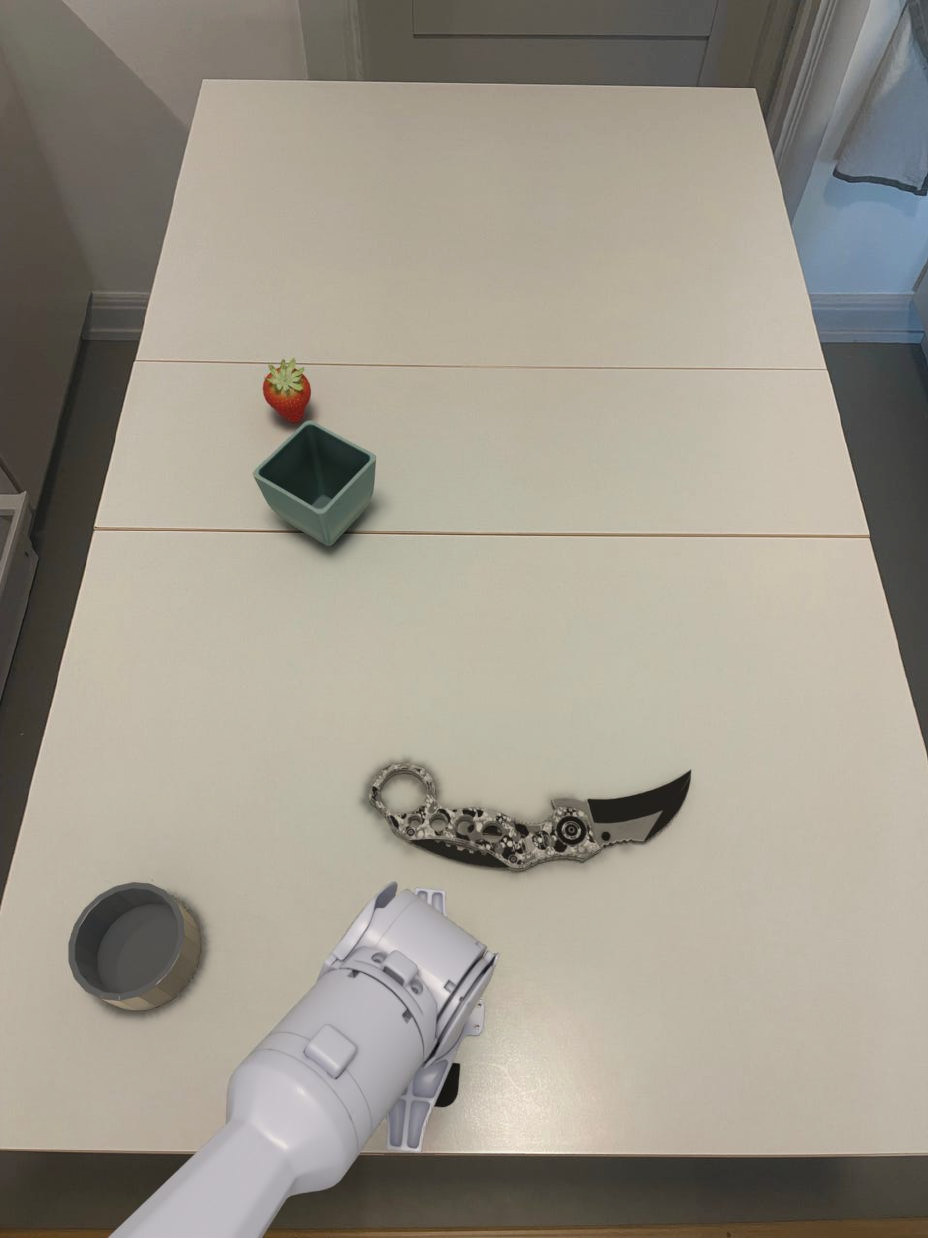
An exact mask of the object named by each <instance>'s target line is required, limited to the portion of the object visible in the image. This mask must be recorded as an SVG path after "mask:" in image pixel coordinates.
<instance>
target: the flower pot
mask: <svg viewBox="0 0 928 1238" xmlns="http://www.w3.org/2000/svg"><path fill="white" fill-rule="evenodd" d="M376 465H377V455H375V454H374V453H373V452H371V451H369V450H367V449H366V448H363V447H362V446H360V445H359V444H356V443H354V442H352V441H350V440H348V439H346V438H345V437H343V436H341V435H339V434H337V433H335V432H334V431H331V430H329V429H328V428H326V427H325V426H323V425H321V424H319V423H318V422H315V421H313V420H306V421H304V422H303V423H302V424H301V425H300V426H298V428H297V429H296V430H295V431H294V432H293V433H291V435H290V436H289V437H288V438H287V439H286V440H285V441H284V442H282V444H280V446H278V447H277V448H276V449H275V450H274V451H273V452H272V453H271V454H270V455H268V457H267V458H266V459H265V460H263V461H262V462H261V463H260V464H259V465H258V466H257V467H256V468H255V469H254V470H253V472H252V476H253V478H254V480H255V482H256V484H257V486H258V488H259V490H260V492H261V494H262V496H263V498H264V500H265V502H266V503H267V505H268V506H269V507H270V509H271V510H272V511H273V512H274V514H276V516H278V517H279V518H280V519H282V520H283V521H285V522H286V523H288V524H289V525H291V526H292V527H294V528H295V529H297V530H299V531H301V532H303V533H304V534H306V535H308V536H309V537H311V538H313V539H315V540H316V541H317V542H319V543H321V544H322V545H324V546H326V547H330V546H332V545H334V544H335V543H336V542H337V540H339V538H340V537H342V535H343V534H344V533H345V532H346V531H347V530H348V529H349V528H350V527H351V526H352V524H354V523H355V521H356V520H357V519H358V518H359V517H360V516H361V514H363V512H364V511H365V510H366V509H367V506H368V505H369V503H370V502H371V499H372V497H373V493H374V489H375V481H376V468H377V467H376Z"/></svg>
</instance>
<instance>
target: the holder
mask: <svg viewBox="0 0 928 1238" xmlns="http://www.w3.org/2000/svg"><path fill="white" fill-rule="evenodd" d="M67 946H68V947H67V948H68V950H67V951H68V952H67V956H68V958H67V961H68V966H69V968H70V971H71V973H72V977H73V978H74V980H75V981H76V983H77V984H78V985H79V986H80V987H81V988H82V990H84V992H86V993H88V994H90V995H92V996H93V997H95V998H98V999H100V1000H103V1001H104V1002H106V1003H108V1004H111V1005H113V1006H115V1007H118V1008H120V1009H123V1010H127V1011H136V1012H137V1011H139V1012H141V1011H149V1010H151V1009H155V1008H157V1007H160V1006H163V1005H164V1004H166V1003H169V1002H170V1001H171V1000H173V999H174V998H175V997H176V996H178V995H179V994H180V993H182V991H183V990H184V989H185V987H187V985H188V984H189V982H190V981H191V980H192V978H193V976H194V975H195V972H196V971H197V968H198V965H199V961H200V958H201V952H202V941H201V934H200V930H199V926H198V924H197V922H196V921H195V918H193V916H192V915H191V913H190V912H188V911H187V909H186V908H185V907H184V906H182V904H180V903H179V901H177V899H176V898H174V897H173V896H172V895H171V894H170V893H169V892H168V891H167V890H165V889H163V888H161V887H160V886H157V885H155V884H153V883H149V882H139V881H132V882H127V883H123V884H118V885H115V886H112V887H111V888H109V889H107V890H105V891H103V892H102V893H100V894H98V895H96V897H95V898H94V899H93V900H91V902H90V903H88V904H87V905H86V907H84V908H83V910H82V911H81V913H80V915H79V916H78V918H77V920H76V921H75V923H74V924H73V927H72V930H71V934H70V937H69V941H68V945H67Z"/></svg>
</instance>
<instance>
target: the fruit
mask: <svg viewBox="0 0 928 1238" xmlns="http://www.w3.org/2000/svg"><path fill="white" fill-rule="evenodd" d="M296 364H297V361H296V359H295V357H293V358H292V359H291V360H289V363H288V364H287V363H286V360H285V359H283V358H282V360H281V361H280V365H279V367H277V368H276V367H275V366H274V365H273V364H267V366H268V369H269V371H270V372H269V373H268V374H267V375H266V376H264V377H263V378H264V380H263V383H262V393H263V397H264V399H265V402H266V403H267V404H268V405H269V406H270V407H271V408H272V409H273V410H275V411H276V412H277V413H278V414H279V415H280V416H281V417H283V418H284V419H285V420H287V421H289V422H292V423H299V422H301V420H302V419H303V418H304V417H303V416H304V414H305V410H306V407H307V406H308V404H309V402H310V400H311V395H312V388H311V384H310V381H309V379H308V378H307V377H306V375H305V374H304V373H303V372H304V371H305V367H300V368H298V369H297V368H296Z"/></svg>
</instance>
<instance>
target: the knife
mask: <svg viewBox="0 0 928 1238" xmlns="http://www.w3.org/2000/svg"><path fill="white" fill-rule="evenodd" d="M398 774H411V775H413V776H415V777H417V778H418V779H419V780H420V781H421V782H422V784H424V788H425V796H424V799H423V801H422V803H421V804H419V806H418V807H416V808H415V809H413V810H411V811H408V812H396V811H393V810H392V809H389V808H388V807H387V806H386V805H385V804H384V802H383V801H382V798H381V792H382V788H383V786H384V784H385V782H386V781H387V780H388V779H389V778H391V777H393V776H395V775H398ZM691 782H692V768H690V769H689V770H687V771H685V772H683V773H681V774H680V775H678V776H677V777H674V778H673V779H671V780H670V781H667V782H664V783H662V784H660V785H657V786H654V787H652V788H650V789H646V790H641V791H638V792H637V791H636V792H634V793H629V794H625V795H620V796H617V797H616V796H615V797H588V798H586V799H585V800H581V799H579V798H577V797H571V796H569V797H568V796H557V797H554V798H552V799H551V800H550V802H551V804H552V806H553V809H554V811H553V813H552V814H550V815H548V817H547V818H546V819H544V821H543V820H542V821H541V822H537V823H536V822H533V823H531V822H524V821H521V820H519V819H516V818H515V817H511V816H509V815H506V814H505V813H503V812H500V811H498V810H495V809H490V808H487V807H486V808H485V807H481V806H479V807H477V806H476V807H475V806H473V807H472V806H471V807H469V806H468V807H447V806H444V805H443V804H441V803H440V802H439V801H438V799H437V797H436V796H437V795H436V785H435V783H434V779H433V777H432V776H431V775H430V773H429V772H428V771H427V770H426V769H424V768H423V766H419V765H417V764H415V763H409V762H397V763H393V764H390V765H388V766H385V767H384V768H382V769H380V771H379V772H378V773H377V774H376V775H375V777H374V778H373V780H372V781H371V783H370V787H369V791H368V799H369V803H370V804H371V805H372V806H373V807H374V808H376V809H377V810H378V811H379V812H380V813H381V814H382V816H383V817H384V818H385V819H386V821H387V823H388V824H389V826H390V829H391V831H392V832H393V833H394V834H396V835H397V836H398V837H400V838H401V839H403V840H404V841H406V842H407V843H409V844H411V843H412V844H414V845H416V846H418V847H420V848H421V849H424V850H425V851H428V852H430V853H433V854H436V855H438V856H442V857H444V858H447V859H450V860H452V861H453V860H454V861H456V862H459V863H460V862H461V863H464V864H470V865H474V866H479V867H485V868H486V867H487V868H499V869H500V868H501V869H502V868H504V869H509V870H510V871H515V872H520V871H525V870H527V869H529V868H530V867H534V866H535V865H537V864H541V863H543V862H545V861H551V860H559V859H568V860H574V859H575V860H577V861H582V862H584V861H586V860H588V859H589V858H591V857H592V856H594V855H596V854H597V853H599V852H600V851H601V850H602V848H603V847H604V846H609V844H613V845H615V844H616V843H617V842H618V843H622V842H623V841H624V842H629V841H632V842H642V843H647V842H648V841H649V840H651V839H652V838H653V837H655V836H656V835H658V834H659V833H660V832H661V831H662V830H663V829H664V828H666V827H667V826H668V825H669V824H670V823H671V822H672V821H673V819H674V818H675V817H676V816H677V814H678V813H679V811H680V810H681V808H682V806H683V804H684V802H685V801H686V798H687V795H688V793H689V790H690V785H691ZM434 819H442V820H444V822H445V824H446V825H445V827H443V829H441V830H435V829H433V828H432V826H431V824H432V822H433V820H434ZM412 820H418V821H419V822H420V824H419V826H416V827H413V826H411V825H410V821H412ZM464 820H465V821H469V822H471V823H472V824H468V825H467V827H466V830H467V833H468V834H463V833H461V832H459V830H458V829H457V825H458V824H459V822H461V821H464ZM498 829H499V830H500V831H498ZM484 835H491V836H492V835H493V836H501V837H500V838H499V839H498V840H495V841H489V840H488V839H486V838H485V836H484ZM447 844H451V845H447ZM458 846H463V847H465V848H463V849H462V850H461V849H459V848H458ZM468 848H469V849H468ZM470 849H472V850H475V851H473V852H470Z"/></svg>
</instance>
